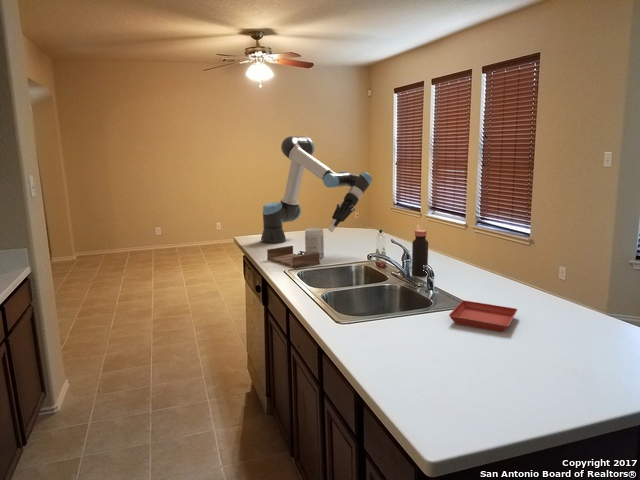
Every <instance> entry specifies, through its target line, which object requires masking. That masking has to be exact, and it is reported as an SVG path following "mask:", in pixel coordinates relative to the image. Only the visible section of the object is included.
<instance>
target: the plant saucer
mask: <svg viewBox="0 0 640 480" xmlns="http://www.w3.org/2000/svg"><path fill="white" fill-rule="evenodd" d="M517 311H518V308H515V307H508V306H503V305H502V306H501V305H497V304H496V305H495V304H490V303H483V302H477V301H470V300H461V302H459V304H458V305H456V306H455V308H454V309H453V310H452V311H451V312H450V313H449V314H448V316H449V318H450V319H451V320H452V321H453V323H455V324H456V325H463V326H468V327H473V328H479V329H485V330H491V331H495V332H504V331H505V330H506V329H508V328H509V326H510V325H511V323H512V321H513V319H514V317H515V315H516V313H517Z"/></svg>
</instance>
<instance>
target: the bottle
mask: <svg viewBox="0 0 640 480" xmlns="http://www.w3.org/2000/svg"><path fill="white" fill-rule="evenodd" d="M414 237H415V238H414V239H413V241H412V244H411V249H412V251H411V275H412V276H414V277H417V278H423V277H424V278H425V277H427V276H428V272H427V273H426V272H425V271H423V265H428V263H429V241H428V240H427V239H426V238H427V230H425V229H415V230H414Z"/></svg>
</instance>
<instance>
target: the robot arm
mask: <svg viewBox="0 0 640 480" xmlns="http://www.w3.org/2000/svg"><path fill="white" fill-rule="evenodd" d="M280 150H281V152H282V154H283V156H285V157H286V158H288V160H290V165H289V169H288V176H287V178H286V179H287V180H286V185H285V190H284V195H283V197H282V198H281V199H280V201H279V202H277V201H275V202H268V203H266V204H264V205H263V207H262V225H263V229H262V233H261V237H260V241H261V243H263V244H279V243H284V242H286V241H287V240H286V239H287V237H286V235H285V232H284V229H283V224H285V223H288V222H289V223H291V222H293V221H296V220H298V219H299V218H300V217H301V214H302V208H301V206H300V201H299V200H298V199H299V193H300V189H301V184H302V179H303V175H304V174H303V173H304V169H306V170H308V171H309V172H310V173H312V174H313V175H314V176H315V177H317V178H319V179H320V180H321V181H322V183H323V184H324V186H325V187H326V188H331V189H334V188H339V187H350V189H348V190H347V193H346V195H344V196H343V201H342V202H341V203H337V204H336V208H335V210H334V212H333V214H332V216H331V219H332V222H330V225H329V226H328V227H327V230H328V231H329V232H330V233H333V232H334V231H335V229H336V228H337V226H338V225H339V224H340V223H344V222H345V220H347V218H349V216H350V215H351V214H352V213H353V212H354V211H355V210H356V208H355V207H356V206H357V204H358V203H359V202H360V199H361V198H362V197H363V195H364V193H365V192H366V191H367V189H368V188H369V187H370V185H371V184H372V182H373V176H372V175H371V174H370V173H368V172H366V171H363V172H360V173H359V174H357V173H352V172H350V171H346V170H345V171H344V170H339V172H335V171H334V170H333V169H331V168H329V167H328V166H327V165H326V164H324V163H322V162H321V161H319V160H318V159H317V158H315V157H313V156H312V155H313V154H314V152H315V143H314V142H313V140H312V139H311V138H310V137H307V136H288V137H286V138H284V139H283V140H282V142H281V145H280Z"/></svg>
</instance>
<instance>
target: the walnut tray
mask: <svg viewBox="0 0 640 480" xmlns="http://www.w3.org/2000/svg"><path fill="white" fill-rule="evenodd" d="M266 251H267V252H266V255H267V258H266V259H267V261H269V262H273V263H276V264H279V265H282V266H284V267H288V268H290V269H300V268H305V267H310V266H315V265H316V266H317V265H320V260H321V258H320V257H319V253H318V252H317V253H311V254H306V253H305V254H301V255H300V254H296V253H294V245H287V246H280V247H273V248H268V249H267V250H266Z"/></svg>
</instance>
